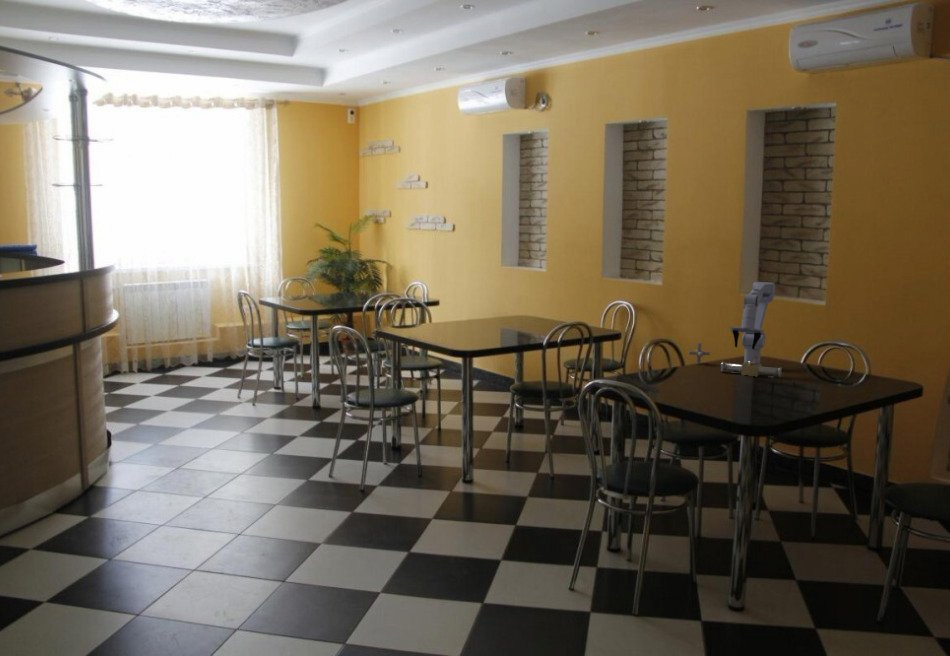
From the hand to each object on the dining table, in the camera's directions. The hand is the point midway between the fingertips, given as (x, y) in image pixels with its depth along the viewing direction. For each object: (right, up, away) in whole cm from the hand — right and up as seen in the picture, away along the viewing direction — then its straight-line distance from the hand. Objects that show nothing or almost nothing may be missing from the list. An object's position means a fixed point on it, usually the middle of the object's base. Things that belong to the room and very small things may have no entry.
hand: (744, 347), depth 392 cm
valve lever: (+4, -6, 0) cm, 8 cm away
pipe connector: (-15, -8, +22) cm, 28 cm away
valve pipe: (+2, -12, -4) cm, 13 cm away
